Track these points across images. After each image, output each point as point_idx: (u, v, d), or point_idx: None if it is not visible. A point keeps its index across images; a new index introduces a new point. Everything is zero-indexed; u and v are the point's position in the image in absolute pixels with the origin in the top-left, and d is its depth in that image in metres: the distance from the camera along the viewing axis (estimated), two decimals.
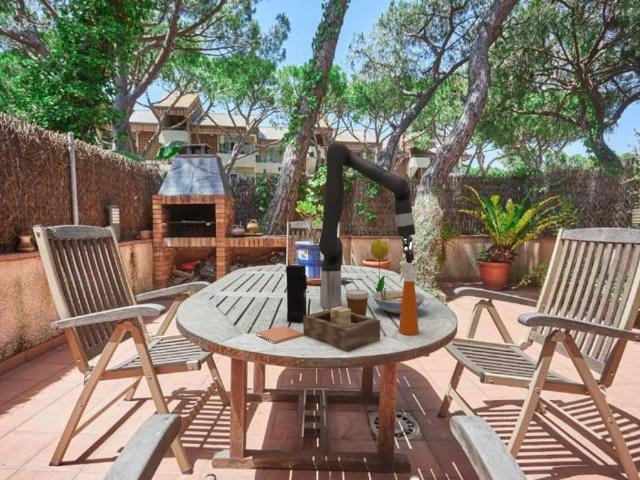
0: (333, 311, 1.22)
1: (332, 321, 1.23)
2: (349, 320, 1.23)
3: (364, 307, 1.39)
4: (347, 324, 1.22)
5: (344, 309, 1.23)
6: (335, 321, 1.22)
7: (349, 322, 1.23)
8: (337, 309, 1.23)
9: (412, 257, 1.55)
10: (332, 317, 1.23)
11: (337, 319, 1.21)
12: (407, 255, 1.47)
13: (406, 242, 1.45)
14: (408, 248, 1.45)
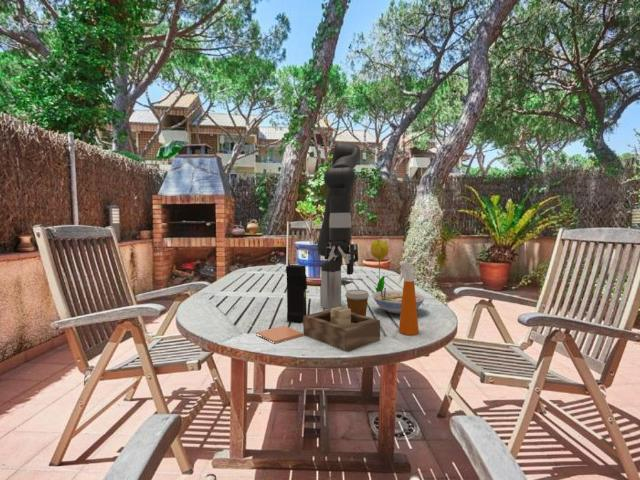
0: (333, 311, 1.22)
1: (332, 321, 1.23)
2: (349, 320, 1.23)
3: (364, 307, 1.39)
4: (347, 324, 1.22)
5: (344, 309, 1.23)
6: (335, 321, 1.22)
7: (349, 322, 1.23)
8: (337, 309, 1.23)
9: None
10: (332, 317, 1.23)
11: (337, 319, 1.21)
12: None
13: None
14: (325, 253, 1.27)
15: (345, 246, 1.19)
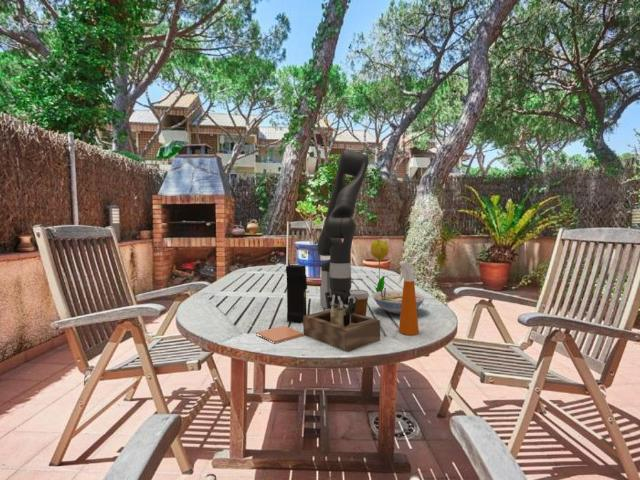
0: (333, 311, 1.22)
1: (332, 321, 1.23)
2: None
3: (364, 307, 1.39)
4: None
5: None
6: (335, 321, 1.22)
7: None
8: (337, 309, 1.23)
9: None
10: (332, 317, 1.23)
11: (337, 319, 1.21)
12: None
13: None
14: (327, 303, 1.27)
15: (345, 298, 1.20)
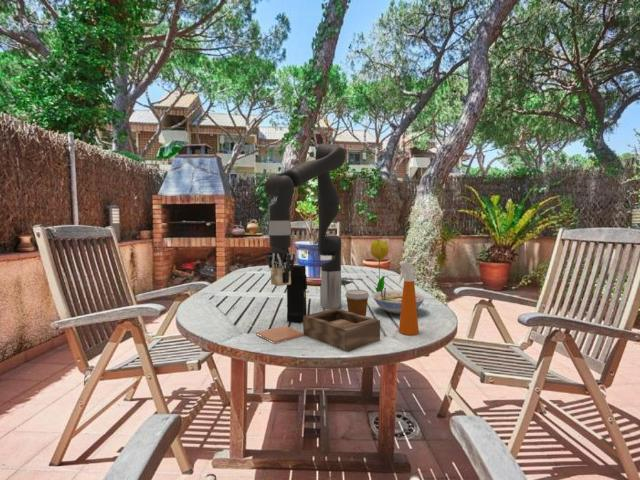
0: (273, 269, 1.23)
1: (272, 279, 1.24)
2: (289, 278, 1.24)
3: (364, 307, 1.39)
4: None
5: None
6: (274, 279, 1.23)
7: (289, 280, 1.24)
8: (277, 267, 1.24)
9: None
10: (272, 275, 1.24)
11: (276, 276, 1.22)
12: None
13: None
14: None
15: (283, 255, 1.21)
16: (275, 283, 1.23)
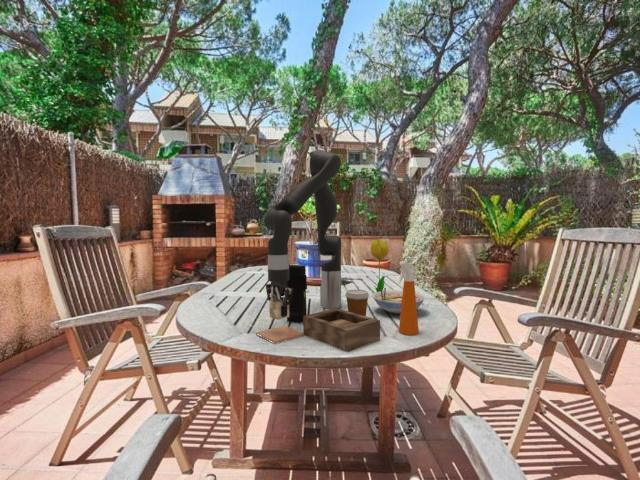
0: (271, 302, 1.24)
1: (271, 312, 1.25)
2: (287, 312, 1.25)
3: (364, 307, 1.39)
4: None
5: None
6: (273, 313, 1.24)
7: (287, 313, 1.25)
8: (275, 300, 1.25)
9: None
10: (270, 308, 1.25)
11: (274, 310, 1.23)
12: None
13: None
14: None
15: (282, 289, 1.22)
16: (273, 316, 1.24)
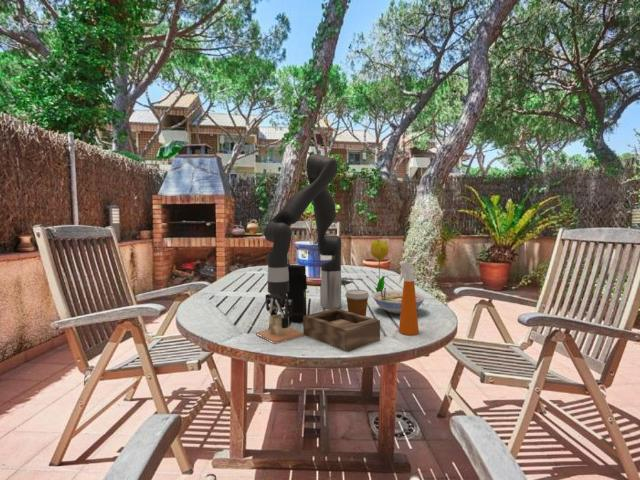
0: (271, 318, 1.25)
1: (270, 328, 1.26)
2: (287, 327, 1.25)
3: (364, 307, 1.39)
4: (285, 331, 1.25)
5: None
6: (272, 328, 1.25)
7: (287, 329, 1.25)
8: (275, 316, 1.25)
9: None
10: (270, 324, 1.26)
11: (274, 326, 1.24)
12: None
13: None
14: None
15: (281, 301, 1.22)
16: (273, 332, 1.24)
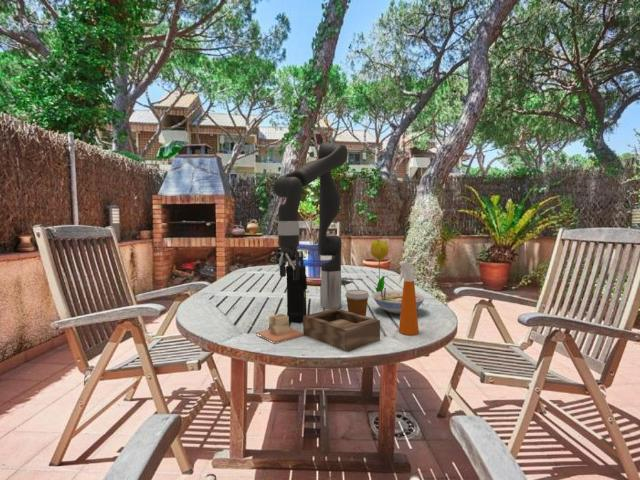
0: (271, 318, 1.25)
1: (270, 328, 1.26)
2: (287, 327, 1.25)
3: (364, 307, 1.39)
4: (285, 331, 1.25)
5: (282, 316, 1.25)
6: (272, 328, 1.25)
7: (287, 329, 1.25)
8: (275, 316, 1.25)
9: None
10: (270, 324, 1.26)
11: (274, 326, 1.24)
12: None
13: None
14: None
15: (291, 253, 1.24)
16: (273, 332, 1.24)
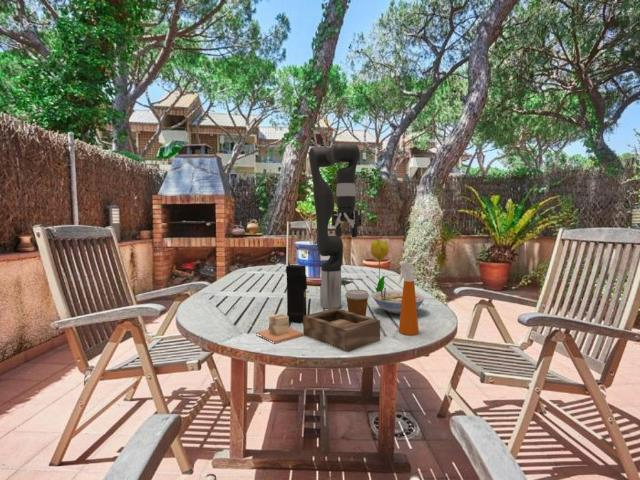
0: (271, 318, 1.25)
1: (270, 328, 1.26)
2: (287, 327, 1.25)
3: (364, 307, 1.39)
4: (285, 331, 1.25)
5: (282, 316, 1.25)
6: (272, 328, 1.25)
7: (287, 329, 1.25)
8: (275, 316, 1.25)
9: None
10: (270, 324, 1.26)
11: (274, 326, 1.24)
12: None
13: None
14: (332, 220, 1.43)
15: (350, 212, 1.35)
16: (273, 332, 1.24)
